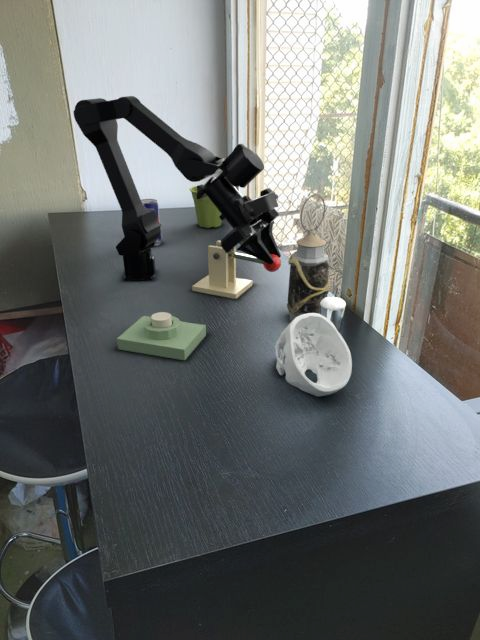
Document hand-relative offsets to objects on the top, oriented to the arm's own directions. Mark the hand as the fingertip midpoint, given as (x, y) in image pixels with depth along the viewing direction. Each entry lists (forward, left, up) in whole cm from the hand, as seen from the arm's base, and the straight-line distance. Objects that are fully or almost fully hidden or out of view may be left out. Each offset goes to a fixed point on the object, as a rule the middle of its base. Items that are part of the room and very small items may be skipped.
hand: (275, 260), depth 112 cm
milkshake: (+9, -21, -9) cm, 24 cm away
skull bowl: (+3, -34, -9) cm, 35 cm away
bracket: (-12, +6, -9) cm, 15 cm away
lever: (-6, +3, -2) cm, 7 cm away
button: (-22, -20, -5) cm, 31 cm away
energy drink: (-32, +39, -9) cm, 51 cm away
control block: (-22, -20, -9) cm, 31 cm away
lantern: (+5, -11, -9) cm, 15 cm away
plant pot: (-16, +58, -9) cm, 60 cm away
